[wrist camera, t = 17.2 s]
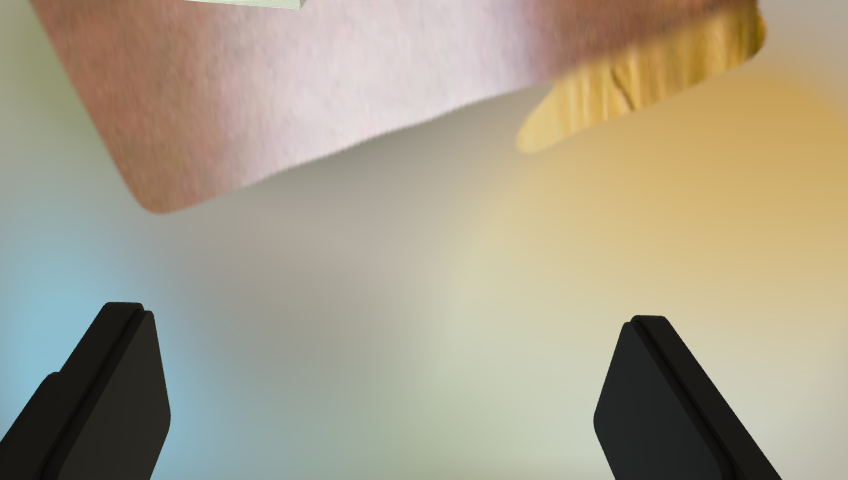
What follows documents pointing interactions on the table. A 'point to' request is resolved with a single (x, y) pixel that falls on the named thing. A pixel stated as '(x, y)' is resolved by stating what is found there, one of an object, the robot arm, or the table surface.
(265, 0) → the pale green square frame
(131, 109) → the table surface
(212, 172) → the table surface
